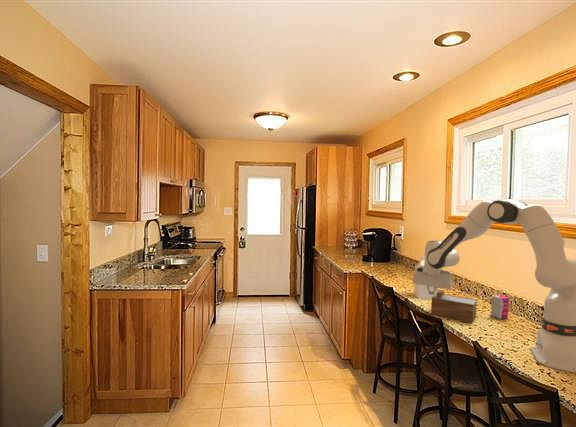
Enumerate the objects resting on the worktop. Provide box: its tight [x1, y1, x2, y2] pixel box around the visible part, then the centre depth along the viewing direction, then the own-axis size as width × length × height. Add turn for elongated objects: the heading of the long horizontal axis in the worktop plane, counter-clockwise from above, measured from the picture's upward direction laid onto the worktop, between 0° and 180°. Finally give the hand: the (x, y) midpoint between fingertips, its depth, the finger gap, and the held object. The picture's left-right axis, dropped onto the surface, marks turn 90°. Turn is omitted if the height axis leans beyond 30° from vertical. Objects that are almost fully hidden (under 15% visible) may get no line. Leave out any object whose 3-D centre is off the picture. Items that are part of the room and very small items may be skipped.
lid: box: [432, 289, 477, 305], centre depth 189 cm, size 9×20×4 cm, turn 54°
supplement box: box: [490, 294, 510, 320], centre depth 188 cm, size 6×6×12 cm
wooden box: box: [430, 294, 478, 324], centre depth 189 cm, size 12×20×9 cm, turn 54°
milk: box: [413, 255, 439, 300], centre depth 226 cm, size 12×12×26 cm
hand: (431, 294), depth 195 cm, fingers closed
